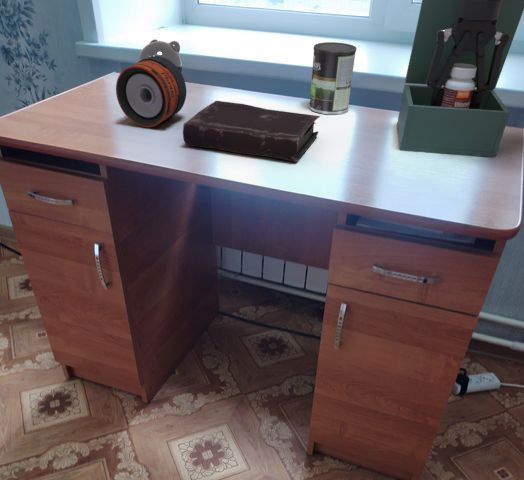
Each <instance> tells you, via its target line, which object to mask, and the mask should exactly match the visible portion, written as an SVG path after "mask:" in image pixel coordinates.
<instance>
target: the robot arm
mask: <svg viewBox="0 0 524 480" xmlns="http://www.w3.org/2000/svg"><path fill="white" fill-rule="evenodd" d="M502 1H503V0H460V4H459V8H458V12H457V17H456V20H455V22H454V24H453V25H452V27H451V28H448V29H444V30H442V29H439V30H437V33H436V34H437V44H436V47H435V51H434V54H433V57H432V61H431V64H430V68H429V71H428V75H427V78H426V84H425V85H426V86H429V87H431V88H433V92H432V96H431V101H430V104H431V106H438V107H440V105H441V100H442V96H443V92H444V91H443V89H442V88H441V87H443V86H444V85H443V83H444V81H445V80H446V78H447V76H448V74H449V72H450V71H451V69H452V67H453V65H454V63H455V62H456V60H457V58H458V57H459V55H460V54H461V52H466V51H471V52H475V55H476V67H477V71H476V84H477V88H476V89H477V90H474V92H473V95H472V99H471V102H470V106H469V109H478V108H479V106H480V103H481V99H482V96H483V94H484V93H485V92H486V91H489V90H490V91H492V90H494V91H495V89H496V88H495V84H496V80H497V75H498V71H499V67H500V62H501V58H502V53H503V49H504V47H505V45H506V44H507V42H508V40H509V35H508V34H506V33H505V32H504V33H502V32H499V31H497V27H496V23H497V19H498V16H499V12H500V8H501V5H502ZM451 34H452V37H453V39H454V42H455V45H454V47H453V49H452V51H451V53H450V55H449V57H448V59H447V61H446V63H445V64H444V66H443V68H442V70H441V72H440V74H439V75H438V77H437V79H436V81H435V80H434V78H435V75H436V71H437V68H438V65H439V61H440V58H441V55H442V51H443V48H444V42H446V41H447V40H448V37H449V36H450V35H451ZM493 37H495V40H494V43H495V44H496V45H495V48H494V52H493V57H492V62H491V66H490V71H489V75H488V80H487V83H485V76H484V46H485V45H486V44H487V43H488V42H489V41H490V40H491V39H492V38H493ZM494 88H495V89H494Z"/></svg>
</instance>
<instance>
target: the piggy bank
mask: <svg viewBox="0 0 524 480" xmlns="http://www.w3.org/2000/svg"><path fill="white" fill-rule="evenodd" d="M180 51H181V45H180V42H178V41H176V40H172V41H170V42H166V41H162V40H158V39H155V38H154V39H152V40H151V41H150V42H149V43H148V44H146V45H145V46H144V47H142V49H141V51H140V52H139V55H138V62H139V61H141V60H143V59H146V58H148V57H151V56H160V57H164V58H166V59H168V60H170V61H171V62H172V63H174V64H175V65H176V66H177V67H178V69H179V70H180V72H181V73H182V70H183V63H182V59H181V56H180Z"/></svg>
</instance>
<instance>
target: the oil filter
mask: <svg viewBox="0 0 524 480" xmlns="http://www.w3.org/2000/svg"><path fill="white" fill-rule="evenodd" d="M115 96H116V100H117V102H118V105H119V107H120V109H121V111H122V113H123V114H124V115H125V116H126V117H127V118H128V119H129V120H130V121H131V122H132V123H134V124H136V125H137V126H140V127H143V128H153V127H156V126H158V125H160V123H162V122H164V121H166V120H168V119H170V118H171V117H174V116H175V115H176V114H178V113H179V112H180V111H181V110H182V109H183V107H184V105H185V103H186V99H187V85H186V80H185V78H184V76H183V74H182V71H181V72H180V70H179V69H178V67H177V66H176V65H175V64H174V63H172V62H171V61H170V60H168V59H166V58H164V57H160V56H151V57H148V58H146V59H143V60H141V61H139V60H138V61H137V63H134V64H132V65H130V66H127V67H125V68H124V69H122V71H121V72H120V73H119V75H118V77H117V79H116V84H115Z"/></svg>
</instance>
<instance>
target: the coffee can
mask: <svg viewBox="0 0 524 480" xmlns="http://www.w3.org/2000/svg"><path fill="white" fill-rule="evenodd" d="M357 49H358V48H357V47H356V46H355V45H353V44H350V43H346V42H334V41H330V42H329V41H327V42H319V43H316V44H314V45H313V59H312V71H311V84H310V97H309V106H308V107H309V110H310V111H311V112H314V113H317V114H321V115H331V116H333V115H335V116H336V115H342V114H345V113H347V112H348V111H349V106H350V105H349V104H350V96H351V89H352V82H353V74H354V66H355V59H356V52H357Z"/></svg>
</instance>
